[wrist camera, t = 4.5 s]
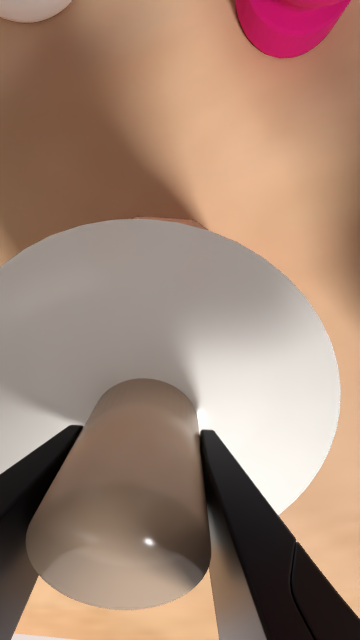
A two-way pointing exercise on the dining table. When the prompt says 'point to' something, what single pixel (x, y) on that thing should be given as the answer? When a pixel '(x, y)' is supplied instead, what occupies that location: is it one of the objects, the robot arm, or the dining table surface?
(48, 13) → the fruit juice
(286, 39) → the pepper mill
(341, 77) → the dining table surface
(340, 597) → the robot arm
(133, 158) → the dining table surface
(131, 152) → the dining table surface
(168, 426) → the lid
